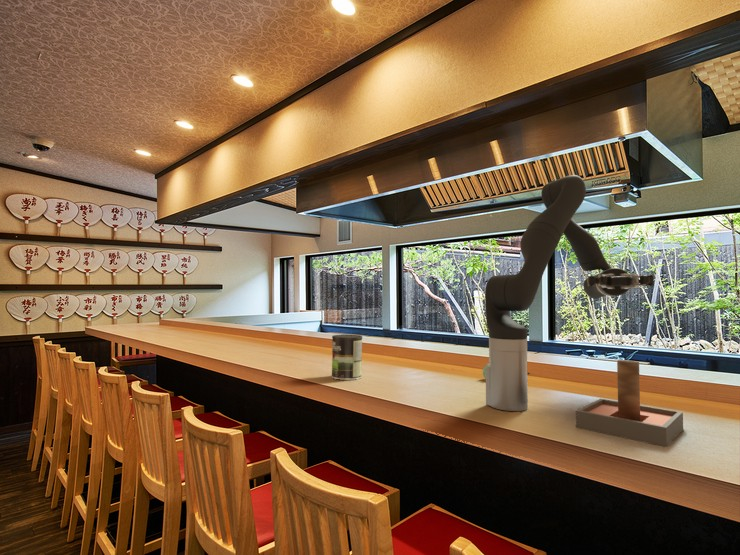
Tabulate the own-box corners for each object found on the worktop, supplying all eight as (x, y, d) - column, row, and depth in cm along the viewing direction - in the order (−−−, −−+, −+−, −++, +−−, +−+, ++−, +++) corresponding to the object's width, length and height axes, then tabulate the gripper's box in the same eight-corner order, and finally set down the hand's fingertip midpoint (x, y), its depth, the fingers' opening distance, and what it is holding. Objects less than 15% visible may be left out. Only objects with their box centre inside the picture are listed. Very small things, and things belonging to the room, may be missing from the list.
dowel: (615, 427, 89) (614, 361, 90) (621, 423, 92) (620, 359, 92) (637, 432, 86) (636, 363, 87) (642, 428, 89) (641, 361, 90)
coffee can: (338, 381, 135) (339, 337, 136) (327, 376, 144) (327, 335, 145) (367, 379, 140) (367, 336, 140) (354, 374, 149) (354, 334, 149)
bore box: (575, 427, 89) (575, 410, 89) (600, 413, 100) (600, 398, 100) (666, 446, 77) (666, 427, 78) (683, 428, 89) (682, 412, 89)
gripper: (583, 269, 118) (591, 264, 103) (641, 268, 113) (659, 263, 98) (583, 295, 118) (591, 295, 103) (642, 296, 113) (660, 295, 98)
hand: (624, 279), depth 100 cm, fingers open, 8 cm apart
